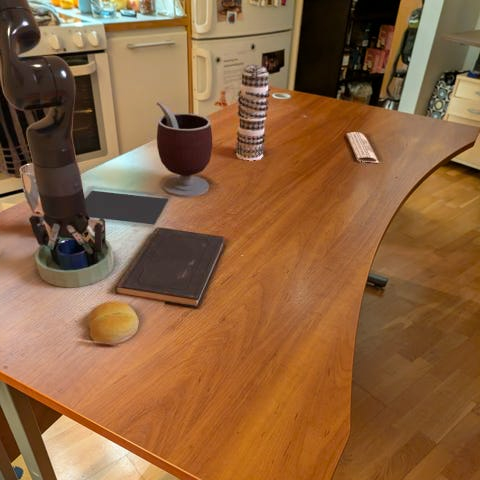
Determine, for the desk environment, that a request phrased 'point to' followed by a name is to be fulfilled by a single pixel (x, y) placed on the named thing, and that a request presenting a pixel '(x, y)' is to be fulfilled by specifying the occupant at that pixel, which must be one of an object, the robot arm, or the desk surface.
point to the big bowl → (73, 277)
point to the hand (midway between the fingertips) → (76, 264)
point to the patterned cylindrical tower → (252, 112)
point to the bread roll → (112, 322)
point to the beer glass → (32, 190)
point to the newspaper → (361, 147)
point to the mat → (124, 207)
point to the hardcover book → (173, 267)
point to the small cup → (71, 255)
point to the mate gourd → (184, 151)
